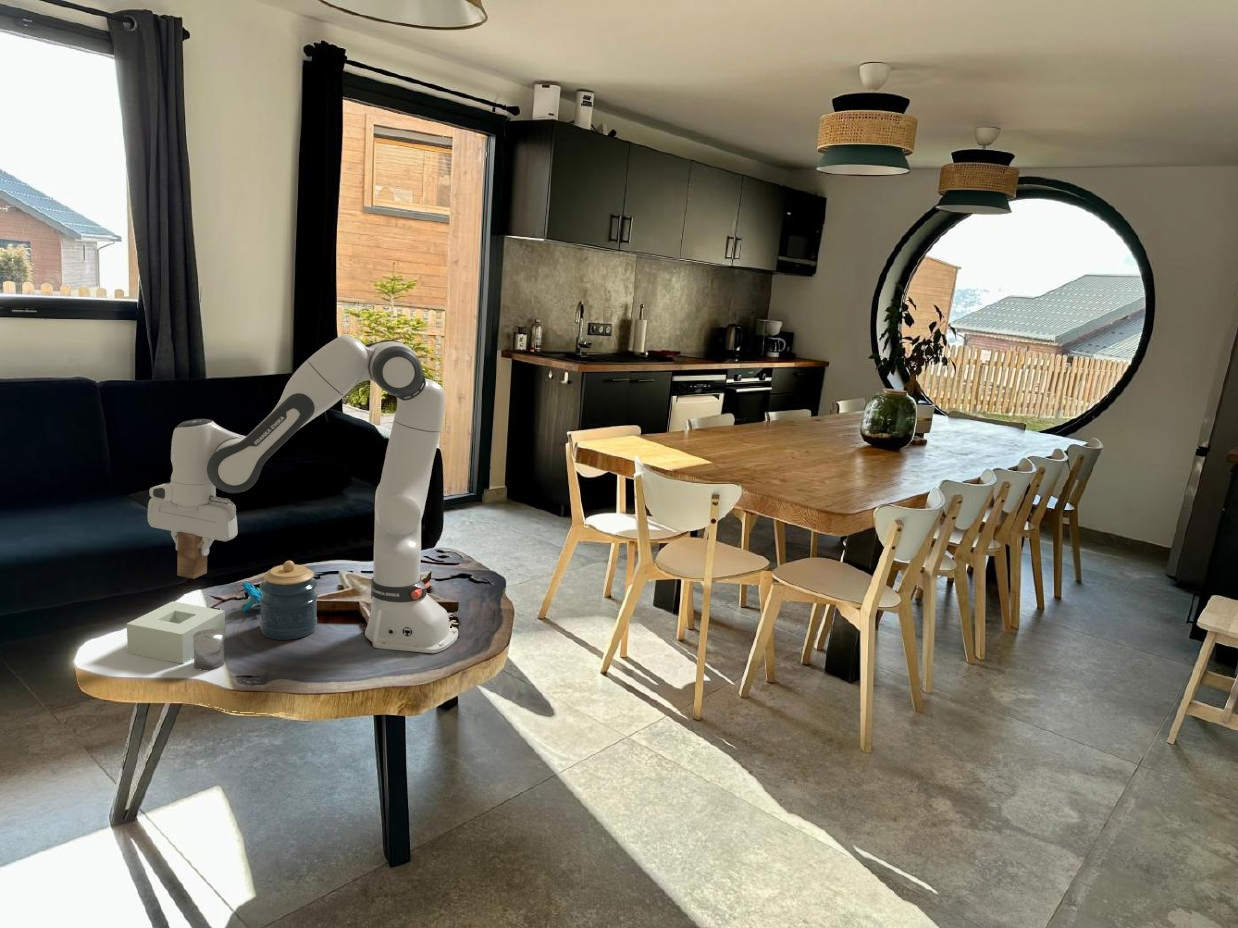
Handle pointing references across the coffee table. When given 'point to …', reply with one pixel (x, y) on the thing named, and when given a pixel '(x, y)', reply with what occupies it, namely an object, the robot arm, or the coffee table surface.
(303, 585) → the canister
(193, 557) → the square bit
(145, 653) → the block
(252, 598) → the blue irregular piece
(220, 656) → the round bit
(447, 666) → the coffee table surface
